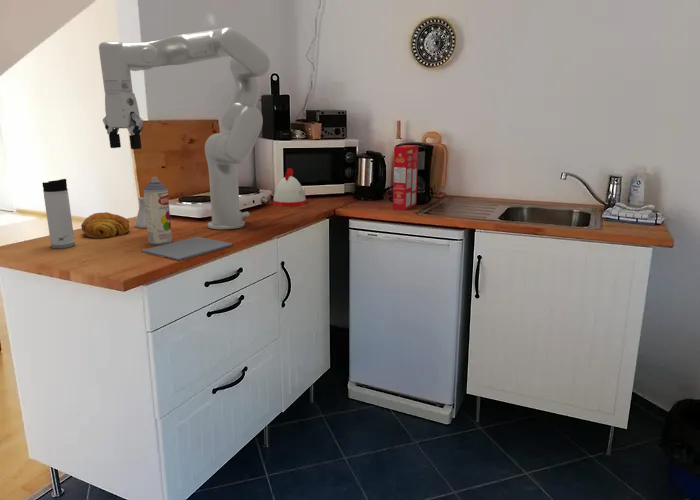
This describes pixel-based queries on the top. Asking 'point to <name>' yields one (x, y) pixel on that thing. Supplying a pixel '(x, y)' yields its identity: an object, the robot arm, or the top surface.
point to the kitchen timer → (289, 191)
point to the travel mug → (58, 214)
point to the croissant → (105, 225)
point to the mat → (187, 248)
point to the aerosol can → (157, 213)
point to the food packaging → (405, 177)
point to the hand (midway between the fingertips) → (125, 148)
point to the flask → (141, 215)
